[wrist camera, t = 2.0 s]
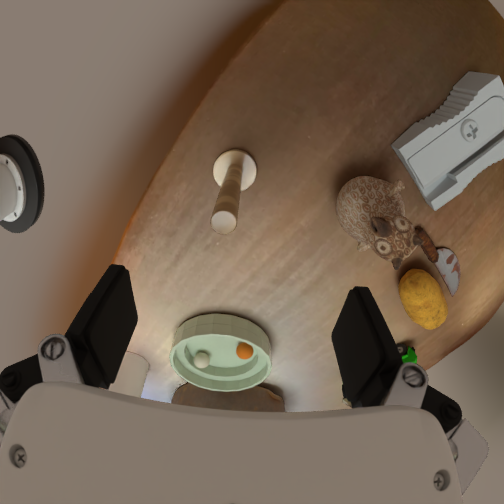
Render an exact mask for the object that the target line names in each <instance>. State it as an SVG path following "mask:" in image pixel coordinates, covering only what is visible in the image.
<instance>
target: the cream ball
mask: <svg viewBox="0 0 504 504" xmlns="http://www.w3.org/2000/svg"><path fill="white" fill-rule="evenodd" d="M209 363H210V358H209V356H208V355H207V354H206V353H202V352H200V353H197V354H196V355H195V356H194V364H195V365H196V366H197V367H198V368H206V367H207V366H208V365H209Z"/></svg>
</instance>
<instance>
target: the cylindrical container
mask: <svg viewBox="0 0 504 504" xmlns="http://www.w3.org/2000/svg"><path fill="white" fill-rule="evenodd" d="M148 369H149V364H148V362H147V361H146V360H145V359H144V358H143V357H141V356H139V355H137V354H135V353H132V352H125V355H124V358H123V360H122V363H121V366H120V368H119V371H118V374H117V377H116V380H115V382H114V383H113V384H110V387H109V390H108V389H106V390H108V391H112V392H117V393H121V394H125V395H130V396H135V397H139V398H141V394H142V391H143V387H144V383H145V380H146V376H147V372H148Z"/></svg>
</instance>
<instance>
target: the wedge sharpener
mask: <svg viewBox="0 0 504 504" xmlns="http://www.w3.org/2000/svg"><path fill="white" fill-rule="evenodd" d="M391 146H392V148H393V149H394V151H395V152H396V154H397V155H398V157H399V158H400V160H401V161H402V163H403V164H404V166H405V167H406V169H407V170H408V172H409V174H410V175H411V177H412V178H413V180H414V182H415V183H416V185H417V187H418V188H419V190H420V192H421V194H422V195H423V197H424V199H425V201H426V202H427V204H428V205H429V206H430V207H431V208H433V209H434V210H435V211H436V210H437V209H438V208H440V207H441V206H443V205H444V204H446V203H447V202H448V201H450V200H451V199H453V198H454V197H455V196H457V195H458V194H459V193H461V192H462V191H463V188H465V187H467V184H468V183H470V182H471V181H472V179H473V178H474V177H476V176H477V174H478V173H481V171H482V170H483V169H486V168H487V166H490V165H492V163H496V162H497V161H498V160H500V161H501V160H502V159H503V158H504V85H503V83H502V81H501V79H500V77H499V76H498V75H492V74H486V73H478V72H468V73H467V74H466V75H465V76H464V77H463V78H461V79H460V80H459V81H458V82H457V83H456V84H455V85H454V86H453V90H452V91H450V95H449V96H447V100H446V101H444V105H441V106H440V109H437V110H436V111H435V113H431V115H430V117H428V116H426V118H425V119H424V120H422V119H421V120H420V121H419V123H418V122H415V123H414V124H413V125H412V126H411V127H410V128H409V129H408V130H406V131H405V132H404V133H403V134H402V135H401V136H400V137H399V138H398V139H397V140H396V141H394V142H393V143H392V144H391Z"/></svg>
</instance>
